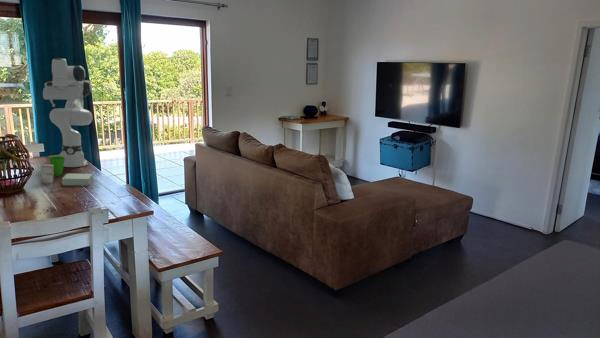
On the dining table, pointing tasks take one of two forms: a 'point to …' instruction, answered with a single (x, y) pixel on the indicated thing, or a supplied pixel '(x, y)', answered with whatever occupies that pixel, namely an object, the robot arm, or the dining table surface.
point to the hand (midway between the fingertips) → (62, 106)
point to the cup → (57, 164)
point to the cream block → (47, 173)
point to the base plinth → (77, 179)
